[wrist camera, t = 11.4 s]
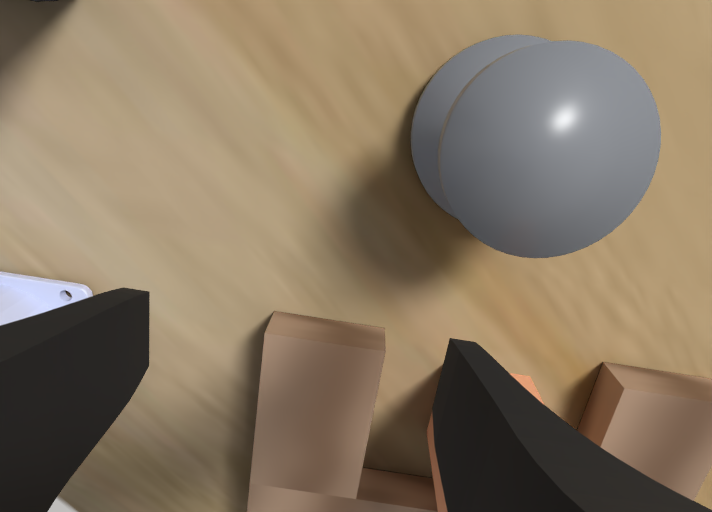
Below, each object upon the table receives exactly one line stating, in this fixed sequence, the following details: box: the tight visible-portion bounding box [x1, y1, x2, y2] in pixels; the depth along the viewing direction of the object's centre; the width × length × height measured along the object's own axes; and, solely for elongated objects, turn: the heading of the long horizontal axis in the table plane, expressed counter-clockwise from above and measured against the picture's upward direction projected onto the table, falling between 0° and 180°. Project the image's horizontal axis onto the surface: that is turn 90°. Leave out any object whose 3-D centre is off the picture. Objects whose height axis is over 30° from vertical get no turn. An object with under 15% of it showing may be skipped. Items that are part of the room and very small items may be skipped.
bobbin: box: [411, 35, 661, 258], centre depth 16 cm, size 7×7×6 cm
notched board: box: [247, 311, 712, 512], centre depth 23 cm, size 20×12×2 cm, turn 81°
